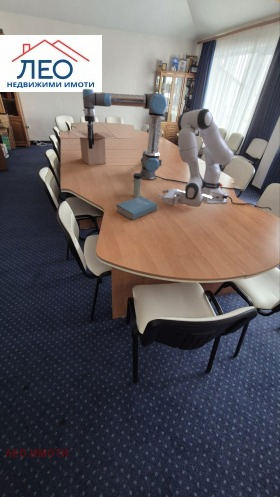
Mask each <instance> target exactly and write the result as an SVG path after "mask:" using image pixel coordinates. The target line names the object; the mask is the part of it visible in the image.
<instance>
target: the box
mask: <svg viewBox="0 0 280 497" xmlns="http://www.w3.org/2000/svg"><path fill="white" fill-rule="evenodd" d="M70 133H71V134H72V135H74V136H75V137H77V138H79V144H80V153H81V160H83V162H85V163H86V165H87V166H95V165H97V166H98V165H106V163H107V162H106V158H107V157H106V138H113V137H114V136H113V135H111V134H109V133H108V132H105V131H98V132H96V131H94V134H95V136H94V145H92V146H93V149H89V143H88V139H87V138H88V130H77V132H76V131H70Z"/></svg>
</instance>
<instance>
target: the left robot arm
mask: <svg viewBox="0 0 280 497" xmlns="http://www.w3.org/2000/svg"><path fill="white" fill-rule="evenodd" d="M82 104H83V109H82V111H83V114H84V121H85V122H87V124H86V126H87V127H86V128H87V131H88V138H87V139H88V143H89V149H93V146H92V145H94V136H95V134H94V132H95V130H94V123H95V122H96V112H95V111H96V109H95V107H106V108H107V107H108V108H109V107H112V106H114V107H115V106H116V107H132V108H133V107H134V108H143V109H144V110H148V116H149V129H148V138H147V150H143V151H142V157H143V159H142V158H141V159H142V163H141V169H140V171H139V173H140V174H142V178H141V180H146V181H154V180H156V178H159V179H161V180H165V181H171V182H175V183H176V182H177V183H182V184H187V183H188V182H189V181H181V180H178V179H177V180H176V179H169V178H164V177H162V176H158V175H157V174H156V171H158V170H159V168H160V165H159V160H160V153H159V146H160V145H159V144H160V137H161V129H162V128H161V127H162V119H163V118H164V116H165V112H166V109H167V106H168V101H167V98H166V97H165V95H164V94H162V93H159V92H154V93H144V94H128V93H114V92H113V93H109V92H100V93H99V92H94V89H93V88H83V89H82ZM219 187H220V186H219ZM220 188H221V189H224V190H225V189H226V190H235V191H243V192H244V191H245V189H244V188H243V189H242V188H236V187H227V186H226V187H225V186H222V187H220Z"/></svg>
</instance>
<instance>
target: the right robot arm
mask: <svg viewBox="0 0 280 497" xmlns="http://www.w3.org/2000/svg"><path fill="white" fill-rule="evenodd" d="M177 128H178V137H177V142H178V143H177V145H178V153H179V156H180V160H181V161H182V162H183V163H186V164H187V165H188V170H189V175H190V176H189V180H188V181H187V182H188V183H186V185H185V188H184V190H180V189H177V188H174V187H171V188H170V189H163V190H162V193H164V194H165V195H162V194H161V193H159V194H158V198H161V200H162V202H163V203H166V204H169V205H173V206H175V207H176V206H178V205H186V206H187V207H193V208H198V207H200V206H201V205H202V202H204V203H206V204H209V205H214V204H227V201H228V200H227V199H229V200H230V202H231V204H234V205H244V206H245V205H251V206H254V207H255V208H258V209H269V210H270V211H273V210H272V208H271V207H270V206H264V207H263V206H258V205H256V204H253V203H251V202H250V203H249V202H243V203H241V202H240V203H238V202H234V201H233V199H232V197H231V196H229V193H227V192H225V191H224V190H223V188H220V187H223V184H222V182H220V177H221V173H222V171H221V168H220V166H221V165H222V166H227V165H230V164H231V162H232V161H233V160H234V156H235V155H234V151H233V150H232V149H231V148H230V147H229V146H228V144H227V143H226V141H225V139H224V138H223V136H222V135H221V132H220V129H219V126H218V123H217V120H216V118H215V116H214V115H213V113H212V110H210V109H209V108H202V109H193V110H190V111H188V112H187V111H185V112H183V113H181V114H180V115H179V116H178V119H177ZM197 131H198V132H199V134H200V137H201V139H202V142H203V144H204V147H203V150H202V154H203V157H204V161H205V169H204V175H203V177H202V174H201V173H200V166H199V160H198V159H199V158H198V157H199V154H198V153H199V152H198V150H199V149H198V141H197V136H196V134H197Z"/></svg>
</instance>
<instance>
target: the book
mask: <svg viewBox="0 0 280 497" xmlns="http://www.w3.org/2000/svg"><path fill="white" fill-rule="evenodd" d="M158 206H159V205H158V203H157V202H155V201H153V200H151V199H148V198H146V197H144V196H142V195H140V197H133V198H131V199H128V200H125V201H123V202H120V203H116V208H117V209H116V212H117V213H119V214H120V215H122V216H124V217H125V218H127V219H129V220H131V221H133V220H136V219H138V218H141V217H143V216H146V215H148V214H150V213H153V212H155V211H157V210H158Z"/></svg>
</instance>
